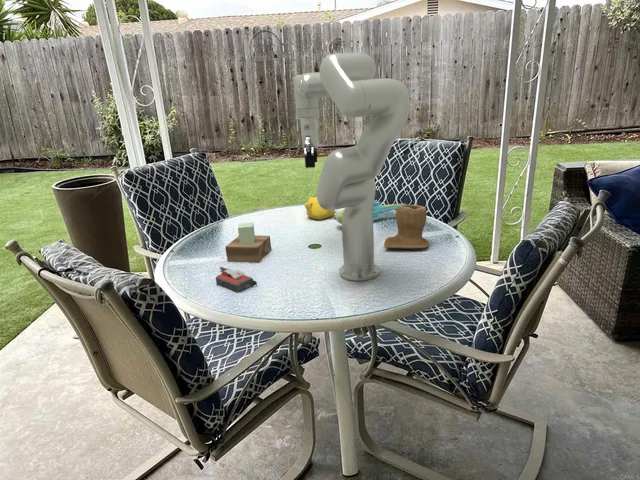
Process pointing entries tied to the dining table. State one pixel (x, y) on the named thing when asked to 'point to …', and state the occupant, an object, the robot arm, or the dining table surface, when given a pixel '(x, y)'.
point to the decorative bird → (376, 211)
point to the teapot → (317, 210)
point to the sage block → (246, 233)
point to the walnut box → (248, 250)
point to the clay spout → (409, 228)
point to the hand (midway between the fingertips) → (311, 164)
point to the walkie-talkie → (234, 280)
